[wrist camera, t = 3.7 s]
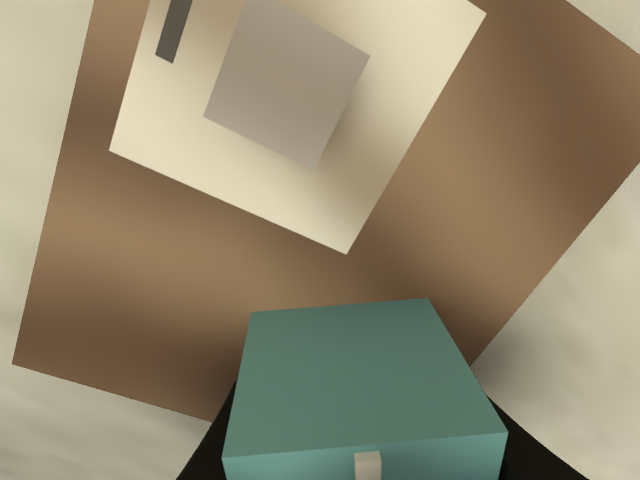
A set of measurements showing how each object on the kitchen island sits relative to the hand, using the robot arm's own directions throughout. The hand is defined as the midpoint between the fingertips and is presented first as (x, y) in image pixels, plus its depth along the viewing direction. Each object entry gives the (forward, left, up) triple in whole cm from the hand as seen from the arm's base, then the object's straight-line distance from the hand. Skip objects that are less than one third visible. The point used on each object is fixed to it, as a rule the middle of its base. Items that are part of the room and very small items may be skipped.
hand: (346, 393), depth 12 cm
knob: (0, 0, -1) cm, 1 cm away
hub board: (+4, +3, -2) cm, 5 cm away
